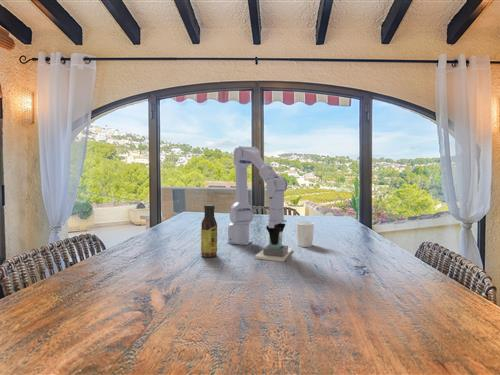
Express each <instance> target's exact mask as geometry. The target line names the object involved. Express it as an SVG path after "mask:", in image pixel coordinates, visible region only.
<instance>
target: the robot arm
mask: <svg viewBox="0 0 500 375" xmlns="http://www.w3.org/2000/svg"><path fill="white" fill-rule="evenodd" d="M260 154H261V153H260V150H259V149H258V147H257V146H242V145H237V146H236V147H235V148H234V150H233V165H234V167H235V170H234V171H235V172H234V174H235V202H234V204H232V205H231V207H230V212H229V219H230V221H231V222H230V223H229V224H228V228H227V244H231V245H233V244H234V245H243V246H248V245H249V244H251V242H253V240H252V239H250V225H251V224H252V222H253V220H254V216H255V215H254V211H253V206H252V205H251V204H250V203H249V201H248V171H247V170H248V169H247V168H248V167H249V166H251V165H252V164H253V166H255V167H256V169H258V170H259V171H258V174H259V176H260V177H261V179H262V180H263V182H264V183H265V188H266V191H267V196H268V225H266V226H265V227H266V230H267V232H268V235H270V239H271V244H272V245H277V243H278V238H279V233H280V232H282V233H283V231H284V229H285V228H286V223H287V222H288V221H287V219H285V218H284V216H285V212H284V211H285V208H284V207H285V192H286V190H287V189H288V181H287V179H286V178H285V177H283V176H280V175H279V174H278V173H277V172H276V171H275V170H274V169H273V166H272V165H270V164H266V163H265V161H264V159H263V158H262V156H261V155H260Z"/></svg>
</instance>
